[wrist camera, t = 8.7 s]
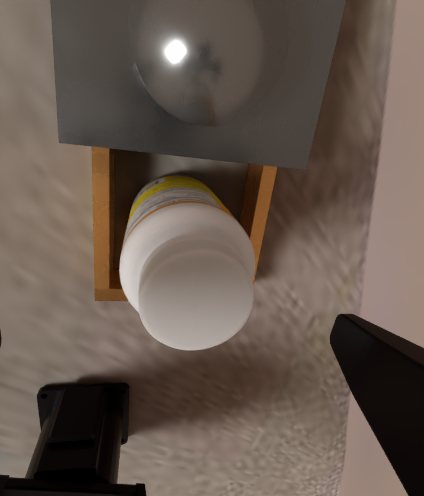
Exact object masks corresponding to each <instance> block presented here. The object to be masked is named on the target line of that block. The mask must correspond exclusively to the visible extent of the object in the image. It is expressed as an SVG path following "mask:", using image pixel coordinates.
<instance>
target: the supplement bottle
mask: <svg viewBox="0 0 424 496" xmlns="http://www.w3.org/2000/svg"><path fill="white" fill-rule="evenodd" d="M119 273H120V280H121V285H122V288H123V291H124V293H125V295H126V297H127V299H128V301H129V302H130V303H131V305H132V306H133V307H134V308H135V309H136V310H137V311H138V312H139V314H140V317H141V320H142V322H143V325H144V326H145V328H146V329H147V331H148V332H149V333H150V334H151V335H152V336H153V337H154V338H155V339H157V340H158V341H160V342H161V343H163V344H165V345H167V346H169V347H172V348H175V349H181V350H202V349H207V348H211V347H214V346H216V345H219V344H221V343H223V342H225V341H226V340H228V339H230V338H231V337H232V336H234V335H235V334H236V333H237V332H238V331H239V330H240V329H241V328H242V327H243V325H244V324H245V323H246V321H247V320H248V318H249V316H250V313H251V311H252V308H253V304H254V288H253V284H252V282H253V278H254V273H255V254H254V250H253V246H252V244H251V241H250V239H249V237H248V235H247V234H246V232H245V231H244V229H243V228H242V226H241V225H240V224H239V223H238V222H237V220H236V219H235V218H234V217H233V216H232V214H231V213H230V212H229V210H228V209H227V208H226V207H225V206H224V205H223V204H222V202H221V201H220V200H219V199H218V198H217V196H216V195H215V194H214V193H213V192H212V191H211V189H210V188H209V187H208V186H207V185H205V184H204V183H203V182H201V181H200V180H198V179H196V178H194V177H191V176H188V175H183V174H168V175H163V176H160V177H158V178H155V179H153V180H152V181H150V182H149V183H147V184H146V185H145V186H144V187H143V188H142V189H141V190H140V191H139V193H138V194H137V196H136V198H135V200H134V202H133V204H132V208H131V211H130V216H129V220H128V224H127V229H126V233H125V237H124V242H123V247H122V251H121V256H120V268H119Z"/></svg>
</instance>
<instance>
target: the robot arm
mask: <svg viewBox="0 0 424 496" xmlns="http://www.w3.org/2000/svg"><path fill="white" fill-rule="evenodd" d="M330 344H331V347H332V349H333V351H334V354H335V356H336V358H337V361H338V363H339V365H340V367H341V370H342V372H343V374H344V377H345V379H346V381H347V383H348V386H349V388H350V390H351V392H352V394H353V396H354V398H355V400H356V401H357V403H358V405H359V407H360V409H361V411H362V412H363V414H364V416H365V418H366V420H367V421H368V423H369V425H370V427H371V429H372V430H373V432H374V434H375V436H376V438H377V440H378V441H379V443H380V445H381V447H382V449H383V450H384V452H385V454H386V456H387V458H388V460H389V461H390V463H391V465H392V467H393V469H394V470H395V472H396V474H397V476H398V478H399V479H400V481H401V483H402V484H403V487H404V489H405V490H406V492H407V494H408V496H424V348H422V347H420V346H418V345H416V344H414V343H412V342H410V341H408V340H406V339H404V338H402V337H400V336H397V335H395V334H393V333H391V332H389V331H387V330H385V329H383V328H381V327H379V326H377V325H374V324H373V323H370V322H368V321H366V320H364V319H362V318H360V317H358V316H356V315H354V314H339V315H338V316H337V317H336V320H335V323H334V326H333V328H332V331H331V334H330ZM0 346H1V331H0ZM37 402H38V410H39V418H40V426H41V433H40V436H39V439H38V442H37V445H36V448H35V450H34V453H33V456H32V459H31V462H30V465H29V468H28V471H27V474H26V476H25V478H13V477H9V476H10V475H0V496H146V489H145V484H142V483H136V485H130V484H117V479H118V468H119V458H120V447H121V445H122V444H125V443H126V442H127V440H128V418H129V385H128V384H126V383H113V384H92V385H71V386H49V387H42V388H40V390H39V392H38V394H37Z"/></svg>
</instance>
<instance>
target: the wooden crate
mask: <svg viewBox="0 0 424 496" xmlns="http://www.w3.org/2000/svg"><path fill="white" fill-rule="evenodd" d="M50 1H51V17H52V34H53V51H54V68H55V85H56V102H57V119H58V136H59V143H66V144H75V145H84V146H92V184H93V232H94V280H95V301H128V299H127V297H126V295H125V293H124V291H123V288H122V285H121V280H120V273H119V270H114V171H115V149H120V150H129V151H138V152H147V153H156V154H165V155H174V156H183V157H192V158H201V159H211V160H220V161H229V162H238V163H247V164H249V169H248V175H247V181H246V187H245V193H244V199H243V205H242V211H241V217H240V223H239V224H240V225H241V226H242V228H243V229H244V231H245V232H246V234H247V235H248V237H249V239H250V241H251V244H252V246H253V250H254V254H255V273H254V278H253V282H252V284H253V285H254V280H255V275H256V270H257V265H258V260H259V255H260V250H261V245H262V240H263V235H264V230H265V225H266V221H267V216H268V211H269V206H270V201H271V196H272V191H273V186H274V181H275V176H276V171H277V167H283V168H292V169H301V170H306V168H307V164H308V160H309V156H310V152H311V147H312V143H313V139H314V135H315V131H316V126H317V122H318V118H319V114H320V110H321V105H322V101H323V97H324V93H325V89H326V84H327V80H328V76H329V72H330V68H331V63H332V59H333V55H334V51H335V47H336V42H337V38H338V34H339V30H340V26H341V21H342V17H343V13H344V9H345V5H346V0H50Z"/></svg>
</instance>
